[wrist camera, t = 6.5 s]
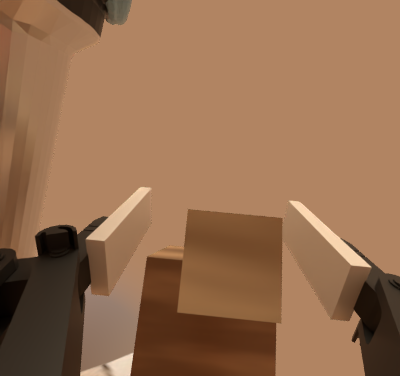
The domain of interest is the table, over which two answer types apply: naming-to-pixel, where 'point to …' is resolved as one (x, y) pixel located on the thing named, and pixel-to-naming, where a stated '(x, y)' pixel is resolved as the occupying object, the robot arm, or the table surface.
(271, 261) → the maple bar
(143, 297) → the walnut pedestal
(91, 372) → the table surface
